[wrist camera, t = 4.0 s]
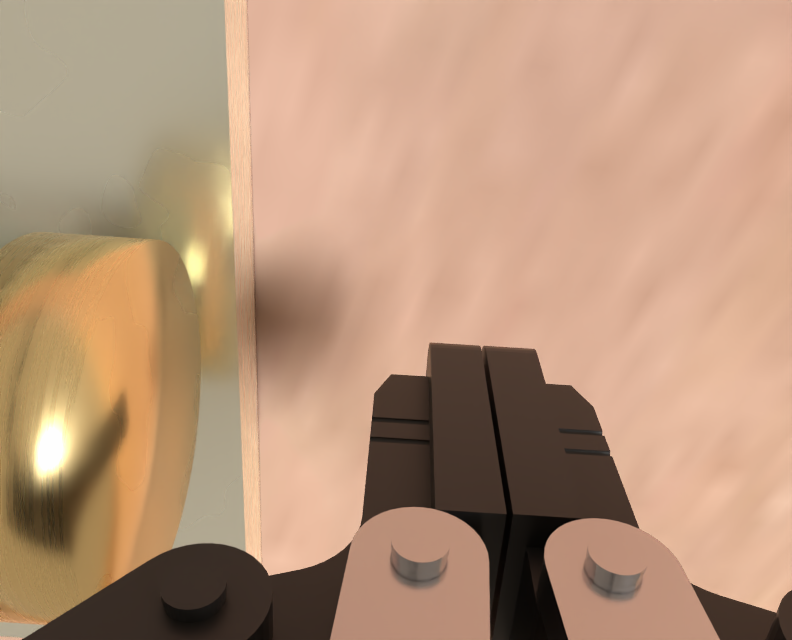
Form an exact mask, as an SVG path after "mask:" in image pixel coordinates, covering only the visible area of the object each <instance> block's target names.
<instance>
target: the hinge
mask: <svg viewBox="0 0 792 640" xmlns="http://www.w3.org/2000/svg"><path fill="white" fill-rule="evenodd" d="M33 232H53V233H68V234H82V235H97V236H112V237H127V238H142V239H156V240H162V241H165V242H167V243H168V244H170V245H171V246H172V247H174V249H175V250H176V251H177V253H178V254H179V255H180V257H181V259H182V261H183V263H184V264H185V267H186V269H187V272H188V275H189V277H190V281H191V285H192V288H193V292H194V297H195V302H196V308H197V316H198V323H199V335H200V353H201V383H200V405H199V418H198V428H197V437H196V445H195V453H194V459H193V465H192V471H191V477H190V482H189V487H188V492H187V496H186V501H185V505H184V509H183V513H182V517H181V520H180V524H179V528H178V531H177V534H176V538H175V541H174V544H173V547H172V549H174V548H178V547H182V546H185V545H192V544H198V543H215V544H224V545H228V546H232V547H236V548H238V549H240V550H243V551H245V552H247V553H248V554H250V555H252V556H253V557H254V558H256V559H257V560H258V561H259V562H260V563H261V564H262V557H261V519H260V481H259V444H258V406H257V368H256V330H255V292H254V255H253V217H252V179H251V141H250V103H249V66H248V28H247V0H0V249H2V248H3V247H4V246H5V245H6V244H8V243H10V242H11V241H13V240H15V239H16V238H18V237H20V236H23V235H26V234H29V233H33ZM43 626H44V625H38V624H23V623H8V622H0V636H5V637H20V638H25V637H27V636H28V635H30V634H32V633H33V632H35V631H36V630H38V629H40V628H41V627H43Z"/></svg>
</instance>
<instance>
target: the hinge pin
mask: <svg viewBox="0 0 792 640" xmlns="http://www.w3.org/2000/svg"><path fill="white" fill-rule="evenodd" d="M200 383H201V353H200V335H199V323H198V316H197V308H196V302H195V297H194V292H193V288H192V285H191V281H190V277H189V275H188V272H187V269H186V267H185V264H184V263H183V261H182V259H181V257H180V255H179V254H178V253H177V251H176V250H175V249H174V247H172V246H171V245H170V244H168V243H167V242H165V241H162V240H156V239H142V238H127V237H112V236H97V235H82V234H68V233H53V232H33V233H29V234H26V235H23V236H20V237H18V238H16V239H15V240H13V241H11V242H10V243H8V244H6V245H5V246H4V247H3V248H2V249H0V622H8V623H23V624H38V625H46V624H48V623H49V622H51V621H52V620H54V619H56V618H57V617H59V616H60V615H62V614H64V613H65V612H67V611H68V610H70V609H72V608H73V607H75V606H76V605H78V604H80V603H81V602H83V601H84V600H86V599H88V598H89V597H91V596H93V595H94V594H96V593H97V592H99V591H101V590H102V589H104V588H105V587H107V586H109V585H110V584H112V583H113V582H115V581H117V580H118V579H120V578H121V577H123V576H125V575H126V574H128V573H129V572H131V571H133V570H134V569H136V568H137V567H139V566H141V565H142V564H144V563H145V562H147V561H149V560H150V559H152V558H154V557H156V556H158V555H159V554H161V553H164V552H166V551H169V550H171V549H172V547H173V544H174V541H175V538H176V534H177V531H178V528H179V524H180V520H181V517H182V513H183V509H184V505H185V501H186V496H187V492H188V487H189V482H190V477H191V471H192V465H193V459H194V453H195V445H196V437H197V428H198V418H199V405H200Z"/></svg>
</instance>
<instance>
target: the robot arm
mask: <svg viewBox="0 0 792 640" xmlns="http://www.w3.org/2000/svg"><path fill="white" fill-rule="evenodd" d="M22 640H792V590H791V591H790V592H788V593H787V594H786V595H785V596H784V597H783V599H782V601H781V603H780V606H779V608H778V610H777V613H775V612H772V611H769V610H765V609H762V608H759V607H756V606H752V605H749V604H746V603H743V602H739V601H736V600H733V599H729V598H726V597H723V596H720V595H717V594H714V593H711V592H709V591H706V590H704V589H702V588H700V587H697V586H695V585H693V584H691V583H690V581H689V579H688V577H687V576H686V574H685V572H684V570H683V568H682V566H681V565H680V563H679V561H678V560H677V558H676V557H675V556H674V555H673V553H672V552H671V551H670V550H669V549H668V548H667V547H666V546H665V545H663V544H662V543H661V542H660V541H658V540H657V539H656V538H654V537H653V536H651V535H650V534H648V533H646V532H644V531H642V530H640V529H639V527H638V524H637V521H636V519H635V516H634V513H633V511H632V508H631V505H630V503H629V500H628V497H627V495H626V492H625V489H624V487H623V484H622V482H621V479H620V476H619V474H618V471H617V468H616V466H615V463H614V460H613V458H612V456H610V450H609V447H608V444H607V442H606V439H605V437H604V436H602V429H601V426H600V423H599V421H598V418H597V415H596V413H595V410H594V407H593V406H592V405H591V404H590V403H589V402H588V401H587V400H585V399H584V398H583V397H582V396H581V395H580V394H579V393H578V392H577V391H576V390H575V389H574V388H573V387H572V386H571V385H555V384H546V383H545V380H544V376H543V373H542V370H541V366H540V363H539V359H538V356H537V353H536V350H535V349H526V348H510V347H494V346H483V348H482V351H481V347H480V346H475V345H460V344H444V343H430V344H429V350H428V359H427V370H426V377H425V376H409V375H393V374H391V375H390V376H389V378H388V379H387V380H386V381H385V382H384V383H383V384H382V385H381V387H380V388H379V389H378V390H377V391H376V392H375V393H374V404H373V414H372V424H371V434H370V444H369V455H368V465H367V475H366V485H365V495H364V505H363V516H362V521H361V526H360V528H359V530H358V531H357V533H356V534H355V536H354V537H353V540H352V542H351V543H350V544H349V545H348V546H347V547H346V548H345V549H344V550H342V551H341V552H340V553H338V554H337V555H335V556H334V557H332V558H330V559H328V560H327V561H325V562H322V563H320V564H317V565H315V566H312V567H308V568H304V569H300V570H296V571H291V572H286V573H281V574H276V575H271V576H268V573H267V571H266V570H265V568H264V567H263V566H262V564H261V563H260V562H259V561H258V560H257V559H256V558H254V557H253V556H252V555H250V554H248V553H247V552H245V551H243V550H240V549H238V548H236V547H232V546H228V545H224V544H215V543H198V544H192V545H185V546H182V547H178V548H174V549H171V550H169V551H166V552H164V553H161V554H159V555H158V556H156V557H154V558H152V559H150V560H149V561H147V562H145V563H144V564H142V565H141V566H139V567H137V568H136V569H134V570H133V571H131V572H129V573H128V574H126V575H125V576H123V577H121V578H120V579H118V580H117V581H115V582H113V583H112V584H110V585H109V586H107V587H105V588H104V589H102V590H101V591H99V592H97V593H96V594H94V595H93V596H91V597H89V598H88V599H86V600H84V601H83V602H81V603H80V604H78V605H76V606H75V607H73V608H72V609H70V610H68V611H67V612H65V613H64V614H62V615H60V616H59V617H57V618H56V619H54V620H52V621H51V622H49V623H48V624H46V625H44V626H43V627H41V628H40V629H38V630H36V631H35V632H33V633H32V634H30V635H28V636H27V637H25V638H24V639H22Z"/></svg>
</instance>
